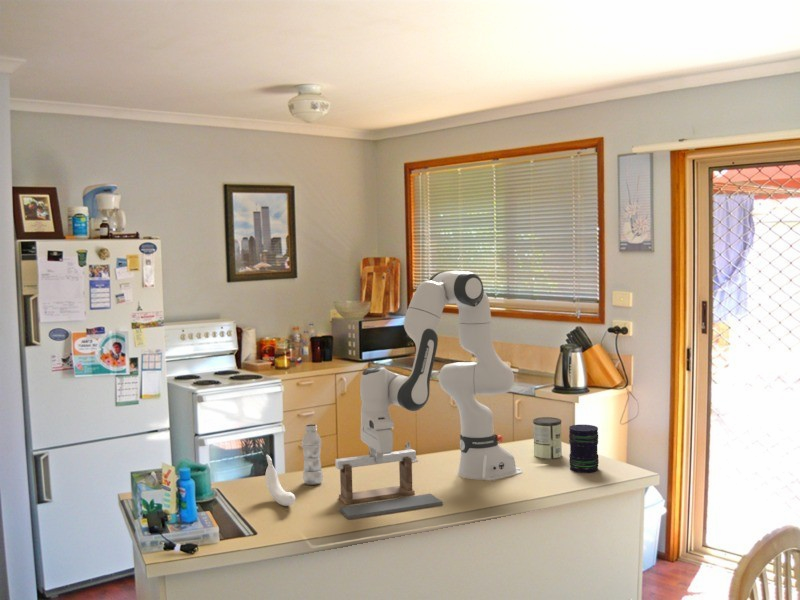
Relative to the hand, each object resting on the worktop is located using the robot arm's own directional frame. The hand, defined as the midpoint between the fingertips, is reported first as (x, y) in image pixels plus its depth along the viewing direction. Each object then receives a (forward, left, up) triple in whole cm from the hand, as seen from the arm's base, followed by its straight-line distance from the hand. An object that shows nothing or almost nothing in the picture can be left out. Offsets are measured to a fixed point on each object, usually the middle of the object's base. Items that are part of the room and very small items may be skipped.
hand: (376, 461), depth 251 cm
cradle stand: (0, 0, -11) cm, 11 cm away
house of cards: (-27, -34, -12) cm, 44 cm away
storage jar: (-75, +4, -11) cm, 76 cm away
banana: (+30, -5, -11) cm, 32 cm away
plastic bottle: (+15, -22, -11) cm, 29 cm away
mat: (0, +13, -11) cm, 17 cm away
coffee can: (-73, -16, -11) cm, 75 cm away
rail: (0, 0, 0) cm, 0 cm away
